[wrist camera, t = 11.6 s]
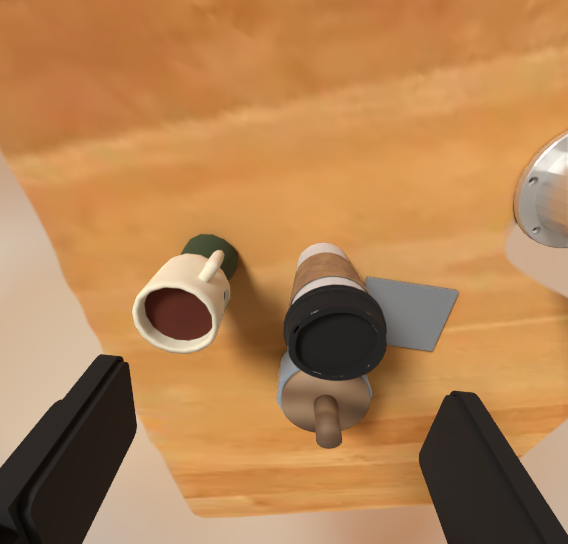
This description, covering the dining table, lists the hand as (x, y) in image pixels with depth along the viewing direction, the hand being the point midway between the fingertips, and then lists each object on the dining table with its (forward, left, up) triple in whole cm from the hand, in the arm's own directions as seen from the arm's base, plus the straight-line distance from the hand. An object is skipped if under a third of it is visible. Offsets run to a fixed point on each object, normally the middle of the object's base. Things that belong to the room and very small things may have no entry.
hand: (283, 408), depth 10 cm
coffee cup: (-5, +8, -28) cm, 30 cm away
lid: (-8, +23, -23) cm, 33 cm away
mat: (-16, +13, -28) cm, 35 cm away
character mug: (+8, +9, -28) cm, 30 cm away
